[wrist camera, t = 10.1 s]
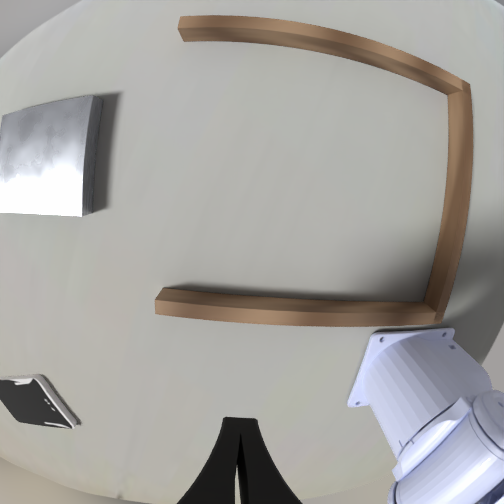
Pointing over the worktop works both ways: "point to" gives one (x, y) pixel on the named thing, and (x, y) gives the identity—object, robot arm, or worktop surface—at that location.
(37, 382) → the smartphone
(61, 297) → the worktop surface
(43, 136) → the cover plate
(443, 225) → the walnut u-shaped frame
